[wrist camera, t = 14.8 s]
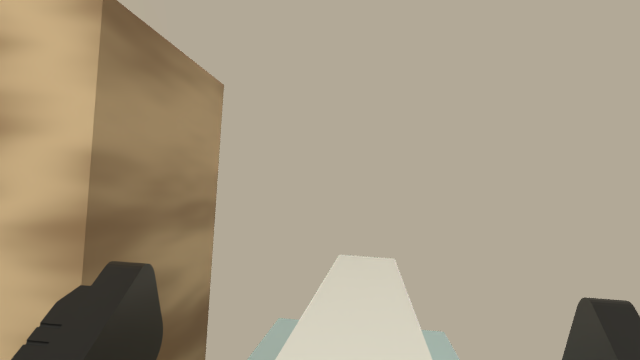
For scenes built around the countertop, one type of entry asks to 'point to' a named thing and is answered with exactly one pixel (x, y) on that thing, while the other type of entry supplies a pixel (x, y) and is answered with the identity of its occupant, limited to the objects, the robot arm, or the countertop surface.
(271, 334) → the post
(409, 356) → the bar
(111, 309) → the robot arm
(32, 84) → the tall wood-grain block
